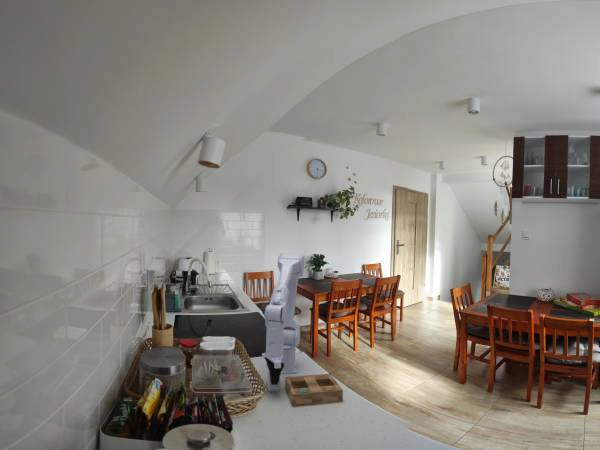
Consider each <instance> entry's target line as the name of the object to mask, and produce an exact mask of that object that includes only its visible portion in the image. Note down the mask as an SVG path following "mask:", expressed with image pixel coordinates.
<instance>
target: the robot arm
mask: <svg viewBox="0 0 600 450" xmlns="http://www.w3.org/2000/svg"><path fill="white" fill-rule="evenodd" d="M277 268H278V270H279V278H278V284H277V285H276V286H275V287H274V288H273V290H272V295H271V298H270V301H269V304H266V306H265V309H264V321H265V327H266V333H265V334H266V337H265V352H263V353H261V355H262V358H264V360H265V362H266V367H267V370H268V369H269V372H270V380H271V384H272V385H277V384H278V382H279V378H280V379H281V375H282V374H293V373H294V374H296V373H298V372H299V371H298V368H297V367H296V351H297V350H296V347H298V346H299V344H300V343H301V342H300V340H301V327H300V324H299V323H298V322H297V321H296V320H295V312H296V311H295V310H296V301H297V289H298V284H299V283H298V282H299V280H300V278H301V277H303V276H304V273H305V271H304V270H305V256H304V254H301V253H300V254H290V253H286V254H285V253H279V255H278V257H277Z"/></svg>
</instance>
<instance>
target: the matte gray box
mask: <svg viewBox="0 0 600 450" xmlns="http://www.w3.org/2000/svg"><path fill="white" fill-rule="evenodd" d="M266 380H267V382H266V383H267V384H266V386H267V387H266V388H267V391H268V392H271V393H272V392H279V391H280V390H281V389H280V388H281V387H280V385H281V377H280V378H279V382H278V384H277V385H272V384H271V380H270V372H269V369H268V368H267V379H266Z"/></svg>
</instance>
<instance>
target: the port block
mask: <svg viewBox="0 0 600 450" xmlns="http://www.w3.org/2000/svg"><path fill="white" fill-rule="evenodd" d="M284 377H285V378H284V387H285V388H284V389H285V392H286V393H287V396H288V398H289V401H290V403H291V406H292V407H299V406H311V405H318V404H322V405H323V404H329V403H340V402H343V399H344V398H343V397H344V395H343V393H344V391H343V388H342V387H341V386H340V384H339V383H338V382H337V380H336V379H335V378H334V377H333V374H331V373H323V374H321V373H320V374H309V375H296V376H284Z"/></svg>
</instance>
